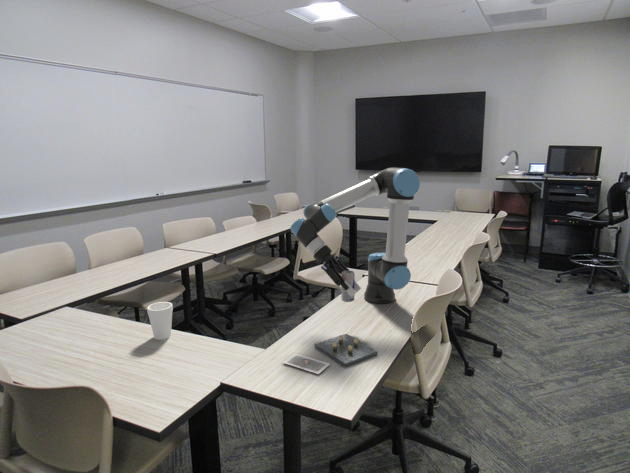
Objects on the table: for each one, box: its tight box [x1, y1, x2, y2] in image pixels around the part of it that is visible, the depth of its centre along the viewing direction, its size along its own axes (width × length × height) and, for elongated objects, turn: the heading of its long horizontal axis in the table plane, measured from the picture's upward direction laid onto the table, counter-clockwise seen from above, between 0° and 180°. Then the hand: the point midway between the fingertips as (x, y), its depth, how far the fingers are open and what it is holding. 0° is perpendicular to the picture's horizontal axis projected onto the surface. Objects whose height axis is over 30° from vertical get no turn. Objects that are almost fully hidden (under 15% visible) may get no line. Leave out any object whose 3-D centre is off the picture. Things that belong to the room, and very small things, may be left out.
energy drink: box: [340, 269, 355, 303], centre depth 171 cm, size 5×5×12 cm
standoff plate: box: [314, 333, 378, 368], centre depth 154 cm, size 15×18×4 cm
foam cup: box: [146, 301, 174, 341], centre depth 167 cm, size 10×9×13 cm
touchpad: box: [281, 352, 331, 375], centre depth 145 cm, size 8×15×2 cm, turn 58°
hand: (356, 292), depth 170 cm, fingers closed on energy drink, 5 cm apart
